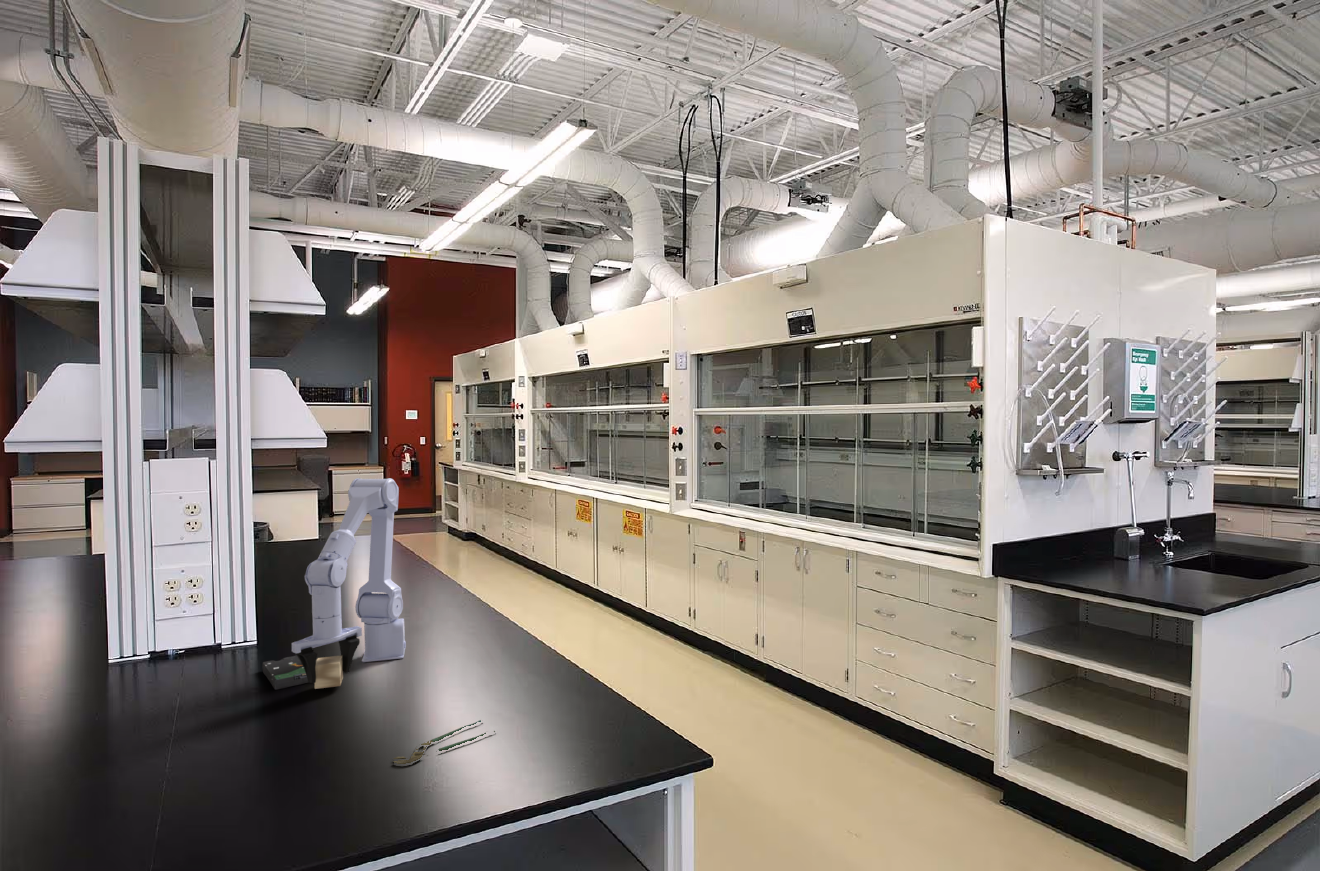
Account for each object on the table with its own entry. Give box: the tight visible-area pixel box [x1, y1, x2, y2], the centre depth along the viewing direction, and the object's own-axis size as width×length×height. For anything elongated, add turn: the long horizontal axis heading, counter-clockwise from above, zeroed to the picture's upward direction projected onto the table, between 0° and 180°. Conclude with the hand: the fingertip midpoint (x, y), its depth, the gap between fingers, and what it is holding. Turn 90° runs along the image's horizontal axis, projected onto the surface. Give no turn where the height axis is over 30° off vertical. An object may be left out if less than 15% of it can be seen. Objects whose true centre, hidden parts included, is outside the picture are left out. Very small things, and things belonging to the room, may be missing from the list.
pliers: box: [392, 719, 486, 764], centre depth 130 cm, size 20×6×1 cm, turn 136°
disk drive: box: [262, 655, 309, 691], centre depth 165 cm, size 10×3×15 cm
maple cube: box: [314, 655, 344, 690], centre depth 157 cm, size 5×5×5 cm
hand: (329, 676), depth 157 cm, fingers closed on maple cube, 7 cm apart
